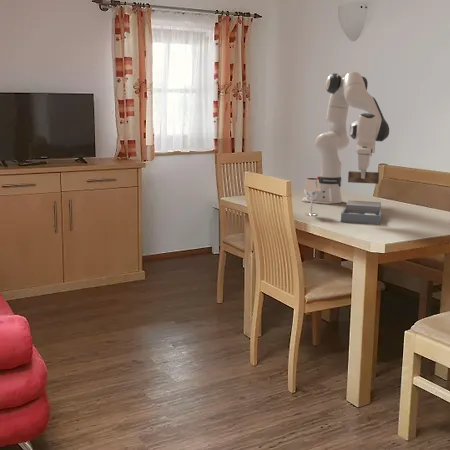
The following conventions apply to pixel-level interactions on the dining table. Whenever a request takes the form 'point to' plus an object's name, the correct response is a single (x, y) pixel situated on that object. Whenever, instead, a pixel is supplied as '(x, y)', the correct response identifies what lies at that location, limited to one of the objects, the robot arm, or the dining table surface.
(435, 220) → the dining table surface
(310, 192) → the wineglass
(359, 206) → the grey flat block
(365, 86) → the robot arm
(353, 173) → the scraper bar
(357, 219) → the box
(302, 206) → the dining table surface
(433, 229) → the dining table surface
